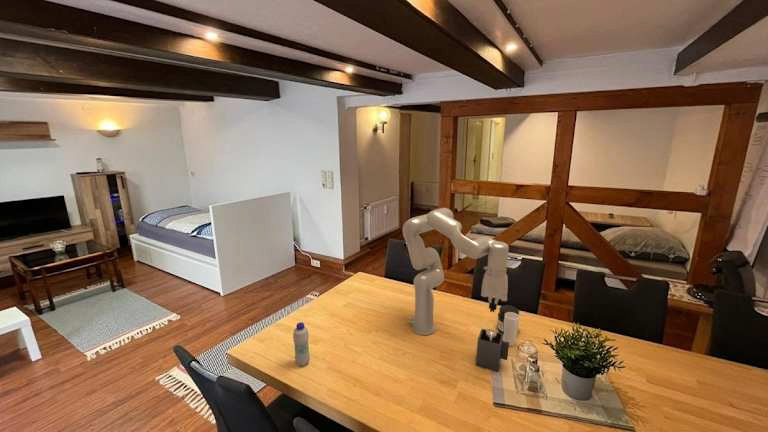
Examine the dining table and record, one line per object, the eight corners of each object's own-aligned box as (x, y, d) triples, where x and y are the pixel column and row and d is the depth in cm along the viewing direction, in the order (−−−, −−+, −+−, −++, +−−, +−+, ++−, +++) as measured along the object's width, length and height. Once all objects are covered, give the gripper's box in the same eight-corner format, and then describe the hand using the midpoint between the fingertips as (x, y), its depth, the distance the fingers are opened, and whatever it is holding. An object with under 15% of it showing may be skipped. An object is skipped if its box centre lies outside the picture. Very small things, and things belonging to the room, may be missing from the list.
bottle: (313, 360, 151) (311, 320, 146) (305, 369, 145) (302, 328, 140) (300, 356, 153) (297, 317, 149) (291, 366, 147) (288, 325, 142)
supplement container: (495, 333, 171) (497, 312, 168) (497, 323, 181) (499, 303, 178) (517, 338, 168) (520, 316, 165) (518, 327, 177) (520, 306, 174)
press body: (475, 365, 148) (477, 339, 144) (479, 353, 156) (481, 328, 153) (505, 374, 143) (508, 347, 139) (507, 360, 151) (510, 335, 148)
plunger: (479, 357, 147) (481, 334, 145) (482, 348, 154) (484, 326, 151) (496, 362, 144) (498, 338, 142) (498, 353, 151) (500, 329, 148)
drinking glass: (517, 348, 160) (520, 320, 156) (502, 346, 161) (505, 318, 157) (515, 339, 166) (518, 312, 163) (501, 338, 168) (503, 311, 164)
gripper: (476, 271, 139) (473, 310, 144) (514, 278, 133) (509, 319, 138) (479, 264, 146) (476, 302, 150) (516, 271, 140) (511, 310, 144)
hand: (492, 310), depth 144 cm, fingers closed
